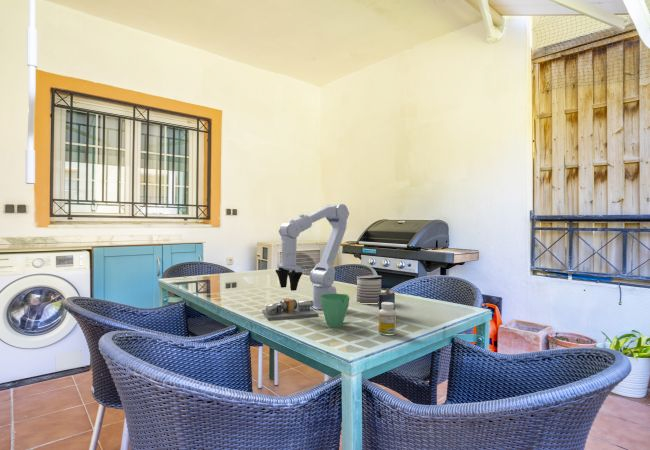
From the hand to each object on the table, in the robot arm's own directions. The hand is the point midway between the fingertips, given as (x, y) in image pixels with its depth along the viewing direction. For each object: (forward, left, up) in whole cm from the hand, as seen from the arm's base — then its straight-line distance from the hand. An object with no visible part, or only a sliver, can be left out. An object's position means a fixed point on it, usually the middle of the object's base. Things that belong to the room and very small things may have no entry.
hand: (288, 288), depth 139 cm
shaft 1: (+6, +2, -9) cm, 12 cm away
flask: (-35, +15, -10) cm, 39 cm away
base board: (0, +2, -9) cm, 10 cm away
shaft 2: (-7, 0, -9) cm, 12 cm away
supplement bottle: (-24, +34, -10) cm, 43 cm away
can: (-40, -10, -10) cm, 42 cm away
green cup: (-13, +19, -10) cm, 25 cm away
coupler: (0, +1, -8) cm, 8 cm away
